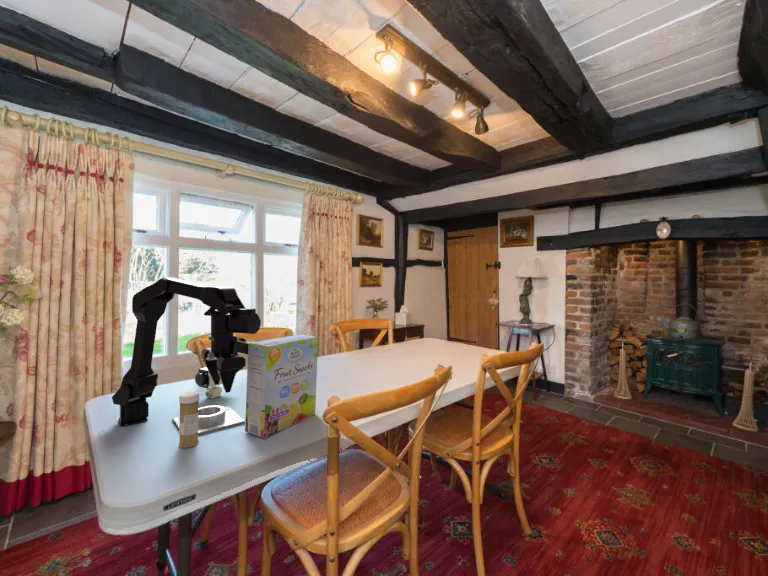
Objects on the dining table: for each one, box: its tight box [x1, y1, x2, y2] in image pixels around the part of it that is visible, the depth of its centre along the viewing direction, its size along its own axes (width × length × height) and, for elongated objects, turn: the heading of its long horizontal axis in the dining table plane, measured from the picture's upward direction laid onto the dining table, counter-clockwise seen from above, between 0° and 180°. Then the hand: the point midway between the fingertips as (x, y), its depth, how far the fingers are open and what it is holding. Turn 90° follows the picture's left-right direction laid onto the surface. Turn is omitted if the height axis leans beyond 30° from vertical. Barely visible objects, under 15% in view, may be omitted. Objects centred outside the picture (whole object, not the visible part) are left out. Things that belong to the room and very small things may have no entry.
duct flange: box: [172, 405, 245, 437], centre depth 105 cm, size 16×16×3 cm
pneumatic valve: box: [194, 367, 223, 399], centre depth 127 cm, size 6×12×12 cm, turn 152°
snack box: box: [244, 333, 319, 439], centre depth 105 cm, size 22×9×26 cm, turn 151°
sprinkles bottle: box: [178, 390, 200, 449], centre depth 91 cm, size 5×5×14 cm
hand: (222, 388), depth 96 cm, fingers open, 9 cm apart
